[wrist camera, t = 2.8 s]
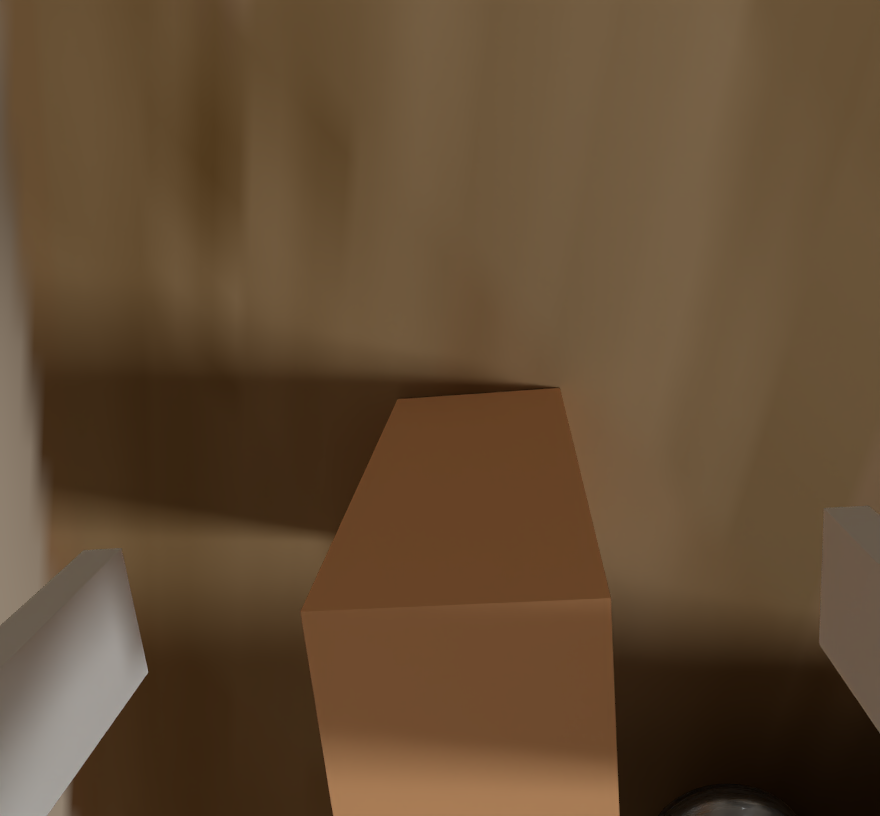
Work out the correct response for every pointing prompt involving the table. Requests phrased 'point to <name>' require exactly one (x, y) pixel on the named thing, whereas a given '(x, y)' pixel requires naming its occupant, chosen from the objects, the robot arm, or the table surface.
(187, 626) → the table surface
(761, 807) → the token
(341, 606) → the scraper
